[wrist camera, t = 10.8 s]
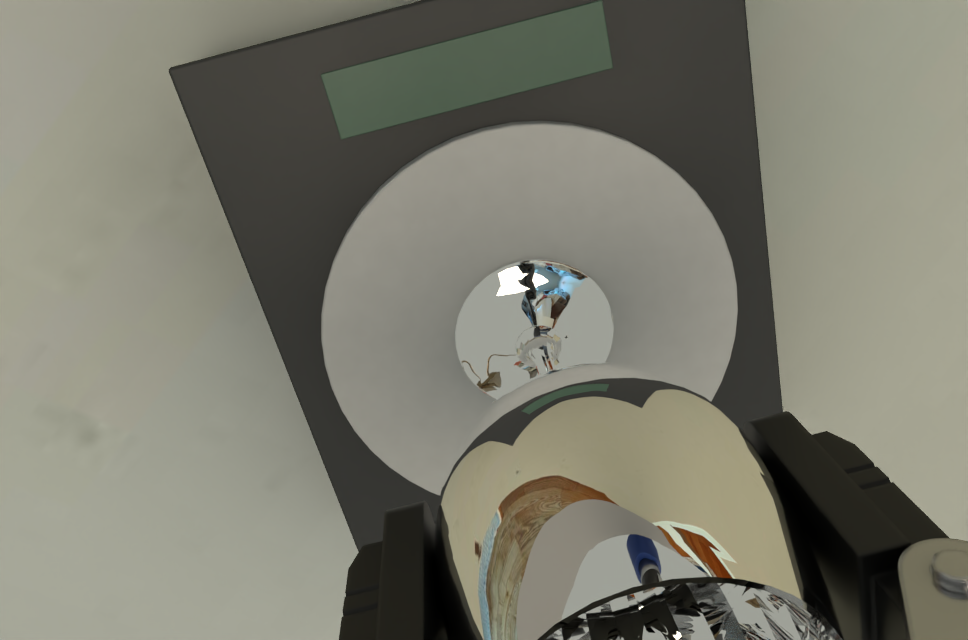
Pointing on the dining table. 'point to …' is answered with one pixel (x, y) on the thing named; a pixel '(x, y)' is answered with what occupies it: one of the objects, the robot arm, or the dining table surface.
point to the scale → (488, 207)
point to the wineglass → (606, 490)
